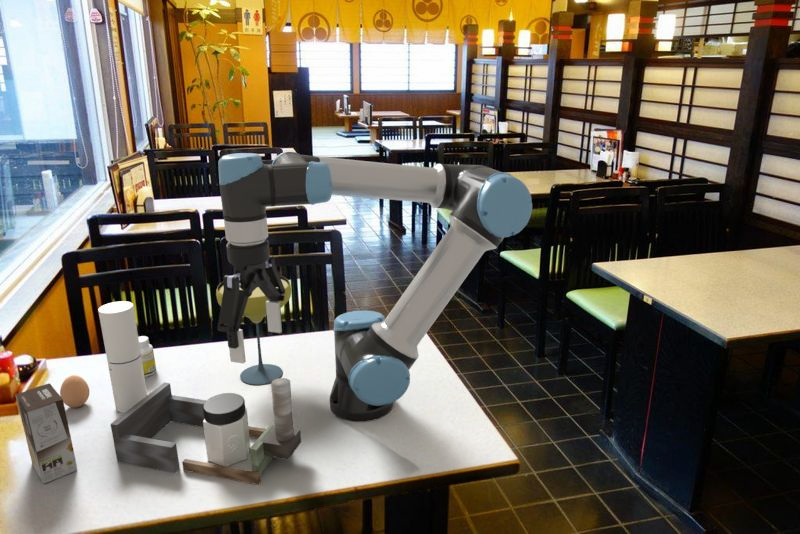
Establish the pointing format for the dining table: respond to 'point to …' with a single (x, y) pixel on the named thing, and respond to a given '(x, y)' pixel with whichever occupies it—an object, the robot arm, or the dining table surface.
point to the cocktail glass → (256, 313)
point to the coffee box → (47, 432)
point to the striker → (277, 430)
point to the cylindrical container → (123, 354)
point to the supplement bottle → (147, 356)
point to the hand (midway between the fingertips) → (257, 346)
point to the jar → (226, 429)
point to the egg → (74, 391)
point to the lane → (144, 451)
